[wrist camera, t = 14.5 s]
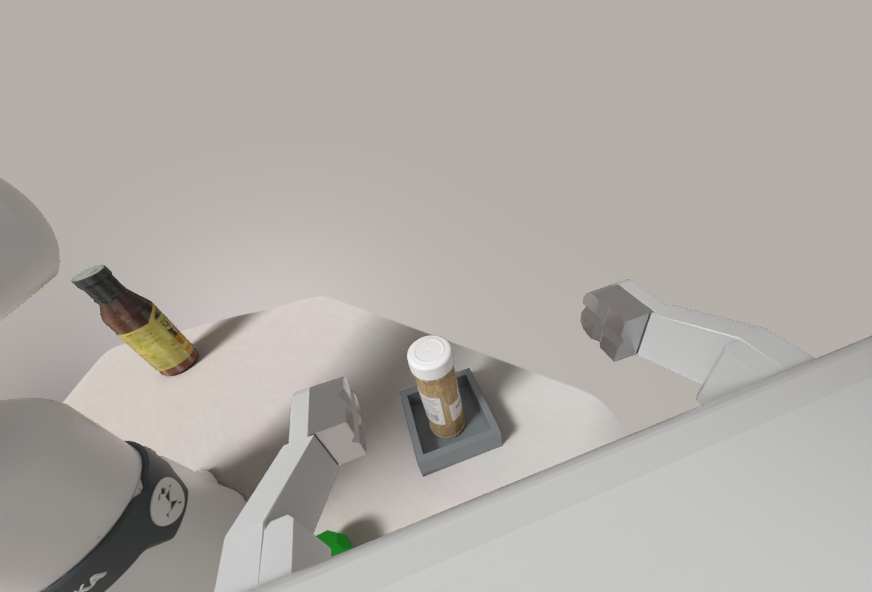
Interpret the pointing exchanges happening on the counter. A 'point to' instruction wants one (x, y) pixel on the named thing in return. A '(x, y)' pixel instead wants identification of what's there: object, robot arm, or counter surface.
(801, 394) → the robot arm
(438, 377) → the sprinkles bottle
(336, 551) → the polyhedron
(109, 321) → the sauce bottle
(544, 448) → the counter surface
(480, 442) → the bin
